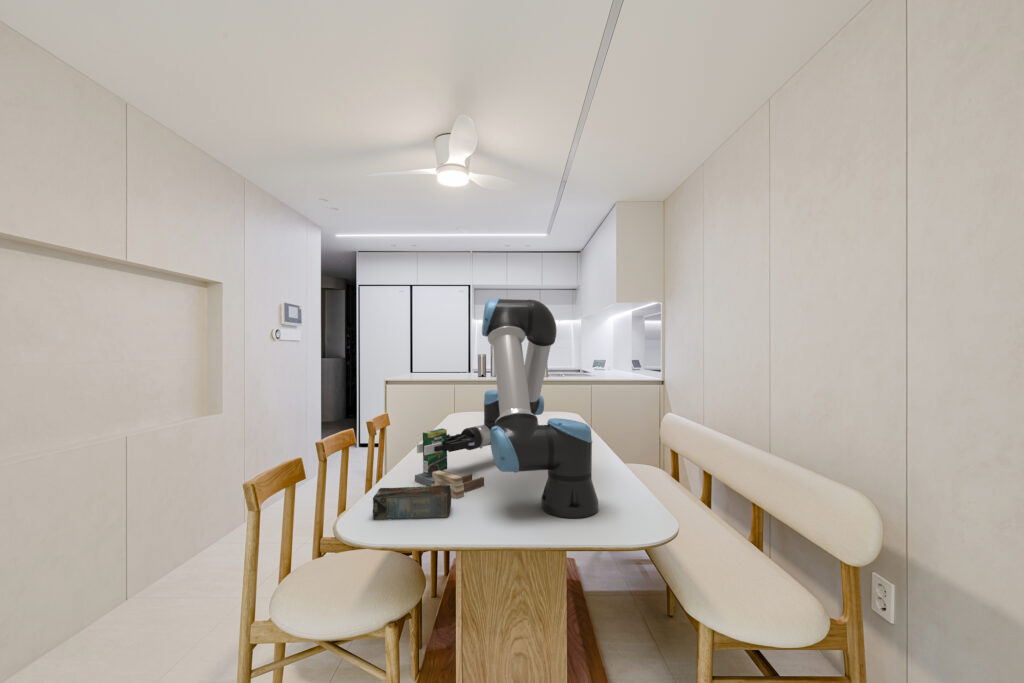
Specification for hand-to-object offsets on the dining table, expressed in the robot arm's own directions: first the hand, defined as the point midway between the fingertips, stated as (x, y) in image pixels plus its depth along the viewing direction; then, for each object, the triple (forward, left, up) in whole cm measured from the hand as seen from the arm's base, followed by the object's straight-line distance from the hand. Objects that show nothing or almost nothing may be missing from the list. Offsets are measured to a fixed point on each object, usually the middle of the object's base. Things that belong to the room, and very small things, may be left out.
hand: (421, 449), depth 134 cm
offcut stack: (-12, 0, -11) cm, 16 cm away
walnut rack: (-12, -8, -11) cm, 18 cm away
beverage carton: (-16, +15, -11) cm, 25 cm away
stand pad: (0, -5, -11) cm, 12 cm away
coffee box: (0, -6, -8) cm, 10 cm away
